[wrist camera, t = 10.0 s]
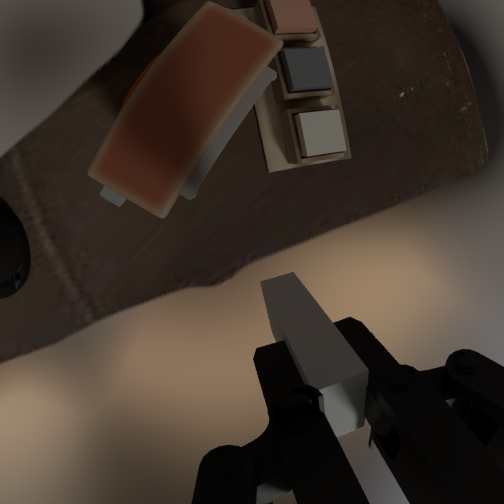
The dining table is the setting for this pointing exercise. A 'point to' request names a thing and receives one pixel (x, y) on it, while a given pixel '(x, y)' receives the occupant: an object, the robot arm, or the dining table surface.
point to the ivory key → (319, 132)
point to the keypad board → (291, 100)
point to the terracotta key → (291, 17)
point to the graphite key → (305, 70)
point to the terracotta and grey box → (185, 110)
